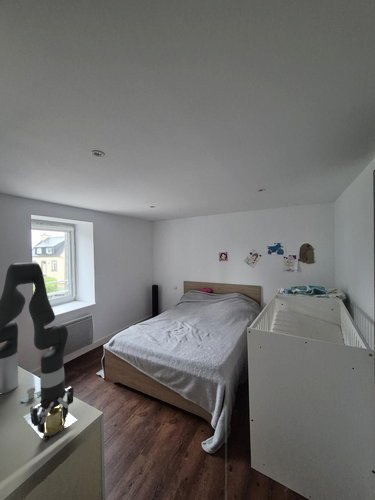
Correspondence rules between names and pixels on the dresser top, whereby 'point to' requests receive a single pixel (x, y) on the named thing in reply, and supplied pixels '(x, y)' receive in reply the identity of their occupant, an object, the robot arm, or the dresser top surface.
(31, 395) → the pacifier
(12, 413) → the dresser top surface
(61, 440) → the dresser top surface
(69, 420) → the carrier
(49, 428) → the brass octagonal tube
